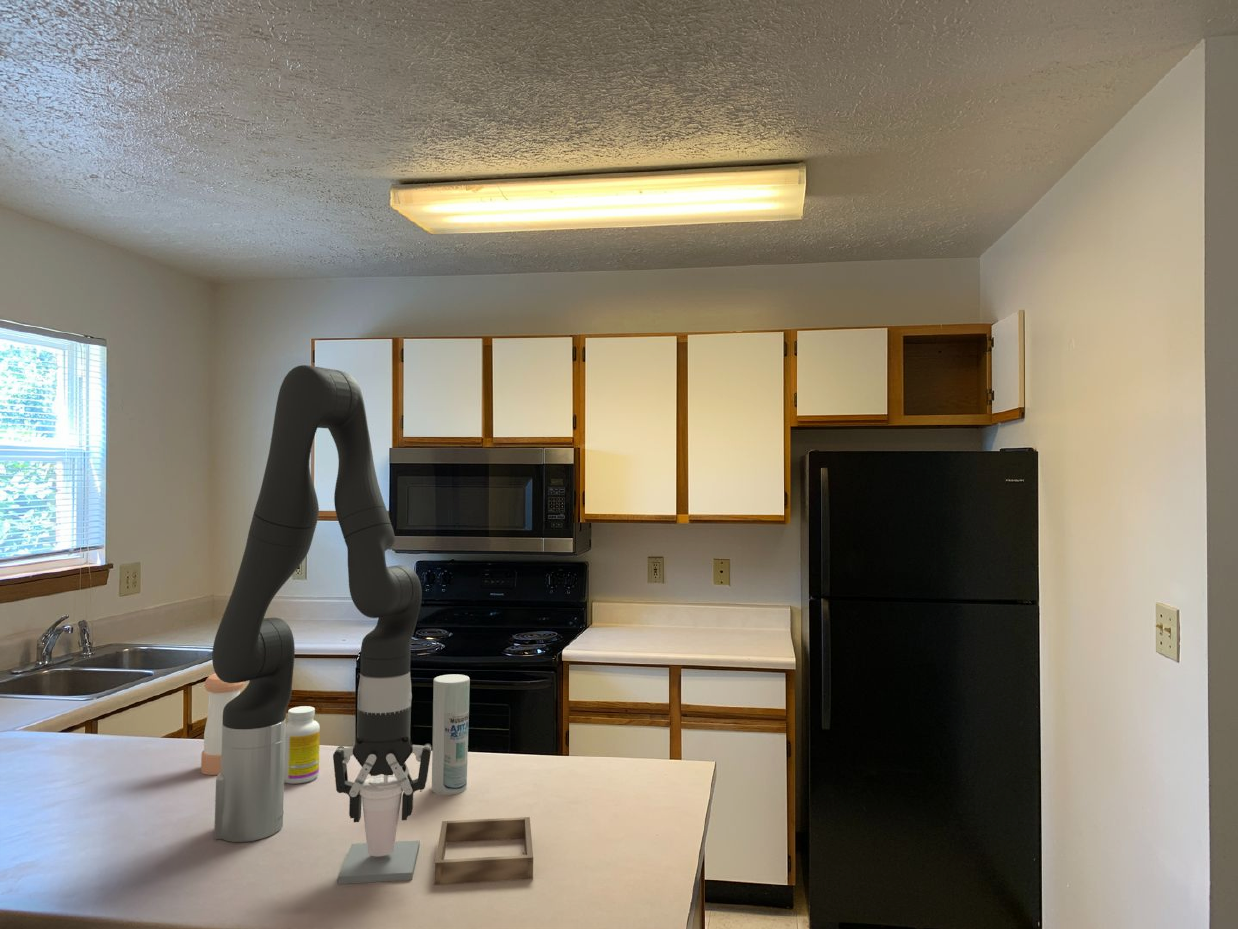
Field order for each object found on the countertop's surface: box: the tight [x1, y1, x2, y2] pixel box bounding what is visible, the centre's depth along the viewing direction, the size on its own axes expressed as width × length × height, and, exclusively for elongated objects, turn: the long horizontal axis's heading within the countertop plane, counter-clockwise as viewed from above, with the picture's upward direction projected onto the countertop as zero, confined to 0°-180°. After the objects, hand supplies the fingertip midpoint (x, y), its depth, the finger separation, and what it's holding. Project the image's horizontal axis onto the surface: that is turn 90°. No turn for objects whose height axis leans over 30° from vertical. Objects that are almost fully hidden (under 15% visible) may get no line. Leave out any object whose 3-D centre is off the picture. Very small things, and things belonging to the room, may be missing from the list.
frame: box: [434, 816, 534, 886], centre depth 115 cm, size 14×14×3 cm
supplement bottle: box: [284, 705, 321, 785], centre depth 146 cm, size 7×7×13 cm
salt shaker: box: [200, 672, 246, 776], centre depth 151 cm, size 7×7×19 cm
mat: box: [337, 839, 421, 885], centre depth 113 cm, size 10×10×1 cm
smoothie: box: [359, 775, 404, 856], centre depth 113 cm, size 6×6×14 cm
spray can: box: [431, 673, 471, 796], centre depth 142 cm, size 6×6×20 cm
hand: (381, 818), depth 113 cm, fingers open, 6 cm apart
